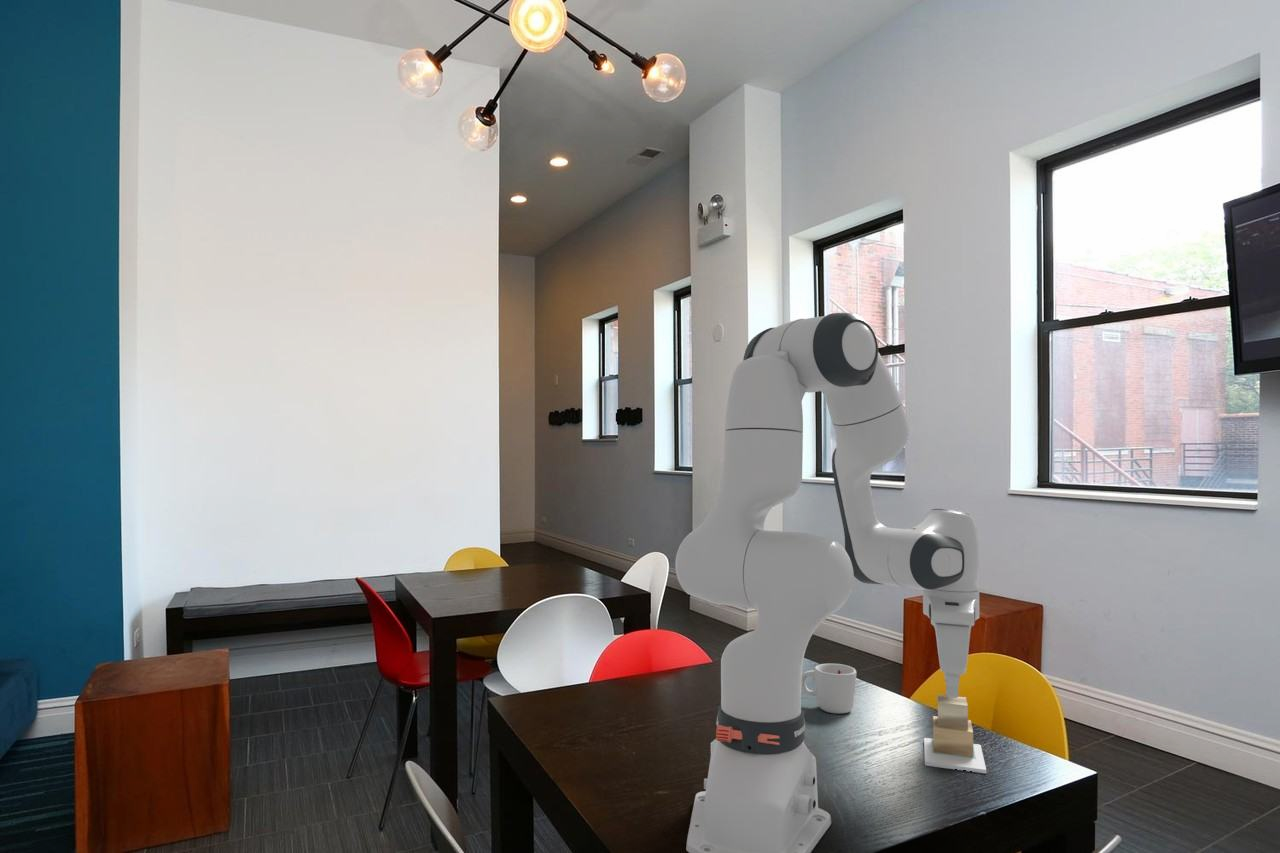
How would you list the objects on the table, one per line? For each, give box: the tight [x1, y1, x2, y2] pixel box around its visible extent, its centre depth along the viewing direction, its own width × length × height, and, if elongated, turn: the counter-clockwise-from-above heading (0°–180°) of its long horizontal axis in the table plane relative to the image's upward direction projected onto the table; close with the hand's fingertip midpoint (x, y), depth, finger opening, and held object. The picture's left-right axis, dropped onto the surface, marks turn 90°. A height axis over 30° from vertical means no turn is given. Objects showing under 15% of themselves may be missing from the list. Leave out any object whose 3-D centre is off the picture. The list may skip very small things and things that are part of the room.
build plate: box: [923, 737, 987, 774], centre depth 123 cm, size 11×9×1 cm
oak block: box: [932, 715, 974, 757], centre depth 125 cm, size 6×6×4 cm
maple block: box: [937, 694, 969, 730], centre depth 126 cm, size 4×4×4 cm
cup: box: [801, 663, 857, 715], centre depth 147 cm, size 11×8×8 cm
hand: (951, 689), depth 125 cm, fingers open, 8 cm apart
